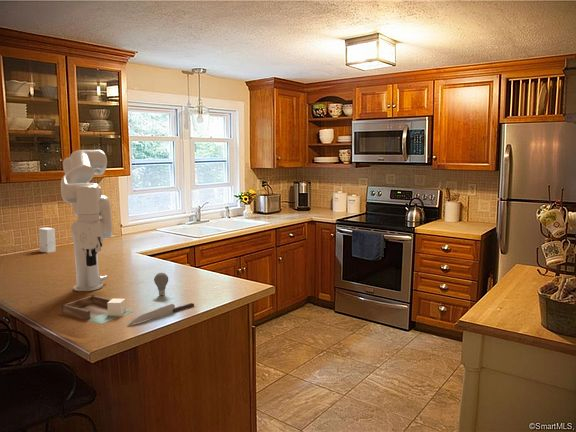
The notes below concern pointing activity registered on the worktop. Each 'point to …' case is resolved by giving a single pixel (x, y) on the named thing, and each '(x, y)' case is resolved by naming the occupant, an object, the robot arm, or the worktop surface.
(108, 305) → the cream block
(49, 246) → the skincare box
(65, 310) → the walnut cubby
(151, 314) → the kitchen knife
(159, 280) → the light bulb
